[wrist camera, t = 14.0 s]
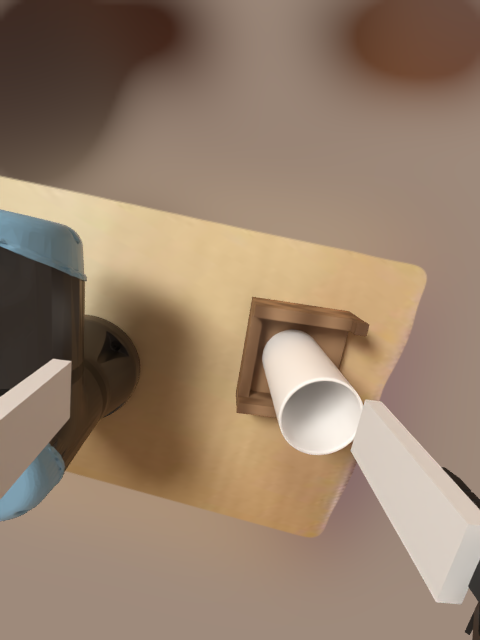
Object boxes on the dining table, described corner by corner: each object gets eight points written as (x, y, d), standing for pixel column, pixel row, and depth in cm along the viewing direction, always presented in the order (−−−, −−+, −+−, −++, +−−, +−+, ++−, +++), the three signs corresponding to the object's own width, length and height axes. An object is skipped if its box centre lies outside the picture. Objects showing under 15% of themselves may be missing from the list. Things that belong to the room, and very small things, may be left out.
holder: (235, 393, 49) (237, 418, 43) (252, 296, 46) (256, 308, 39) (325, 404, 50) (340, 431, 44) (348, 311, 47) (369, 324, 40)
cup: (320, 380, 48) (364, 450, 32) (264, 386, 48) (281, 459, 32) (318, 326, 45) (364, 374, 30) (259, 332, 45) (276, 383, 30)
